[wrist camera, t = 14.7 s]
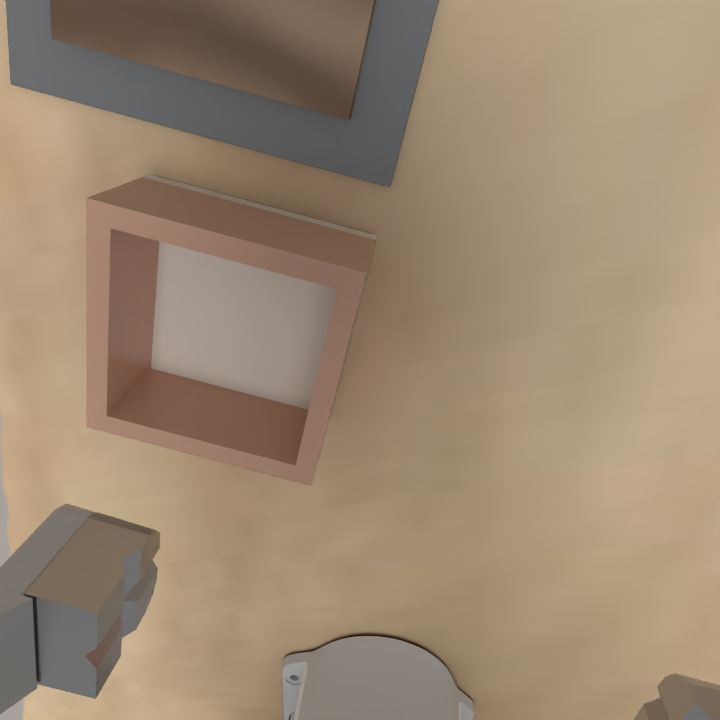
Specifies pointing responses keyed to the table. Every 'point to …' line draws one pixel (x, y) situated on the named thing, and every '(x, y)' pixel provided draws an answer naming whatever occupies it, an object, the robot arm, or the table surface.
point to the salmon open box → (218, 323)
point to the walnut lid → (234, 43)
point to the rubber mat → (241, 92)
